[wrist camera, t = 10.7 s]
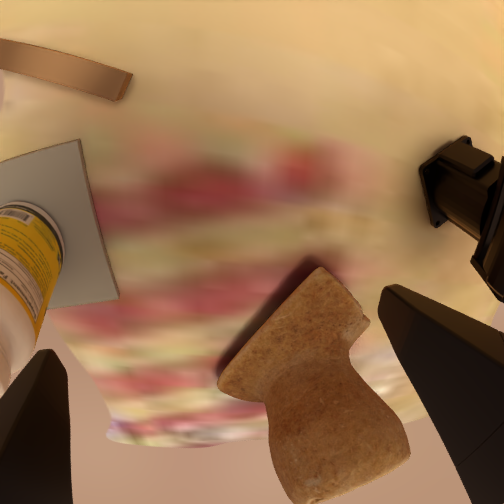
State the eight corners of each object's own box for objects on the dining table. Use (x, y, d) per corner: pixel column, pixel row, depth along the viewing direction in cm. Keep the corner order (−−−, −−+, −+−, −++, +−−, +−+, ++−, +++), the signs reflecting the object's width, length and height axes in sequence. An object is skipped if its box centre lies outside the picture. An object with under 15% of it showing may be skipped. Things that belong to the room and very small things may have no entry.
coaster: (79, 138, 16) (77, 140, 15) (119, 293, 21) (118, 298, 21) (-53, 182, 14) (-58, 185, 13) (-1, 311, 19) (-3, 316, 19)
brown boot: (288, 398, 34) (337, 514, 21) (197, 375, 28) (232, 531, 15) (387, 303, 29) (478, 420, 17) (308, 250, 24) (428, 420, 11)
